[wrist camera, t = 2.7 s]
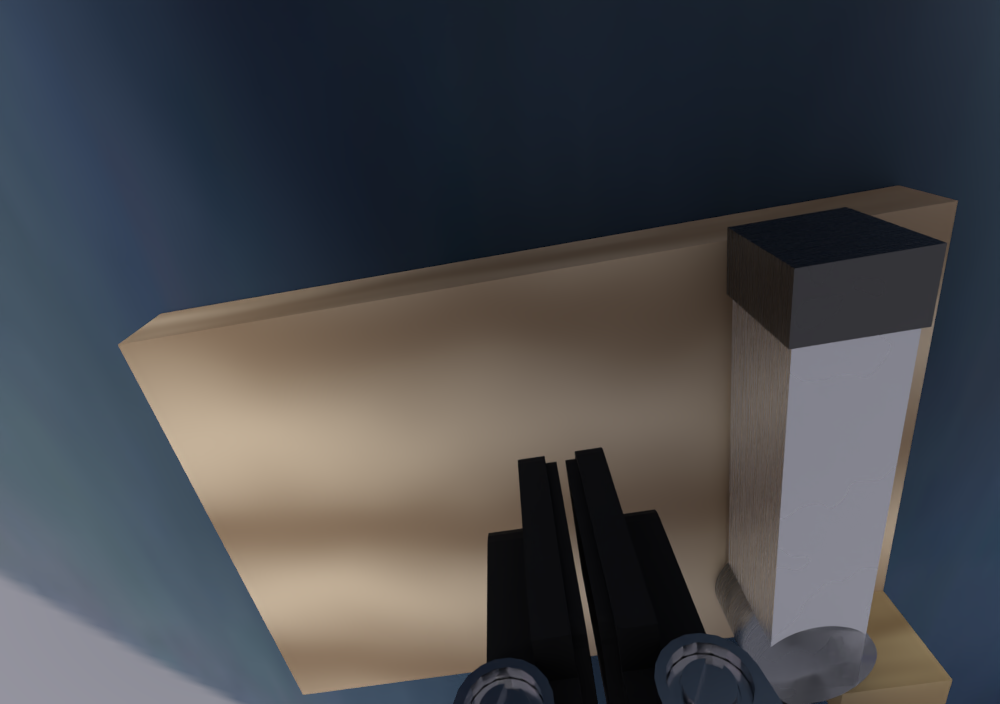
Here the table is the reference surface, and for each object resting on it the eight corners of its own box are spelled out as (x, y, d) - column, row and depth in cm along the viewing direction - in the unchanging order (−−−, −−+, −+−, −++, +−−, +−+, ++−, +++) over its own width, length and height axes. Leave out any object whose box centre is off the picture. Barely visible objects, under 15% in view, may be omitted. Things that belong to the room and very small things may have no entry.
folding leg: (813, 606, 18) (871, 699, 15) (713, 620, 18) (753, 714, 15) (859, 204, 12) (965, 239, 10) (713, 229, 12) (777, 271, 10)
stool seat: (160, 313, 15) (27, 410, 11) (898, 185, 14) (1086, 233, 10) (318, 643, 22) (274, 791, 17) (843, 570, 21) (944, 708, 16)
